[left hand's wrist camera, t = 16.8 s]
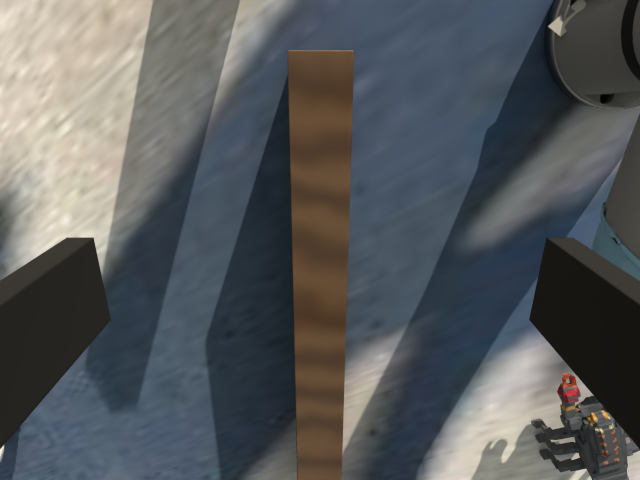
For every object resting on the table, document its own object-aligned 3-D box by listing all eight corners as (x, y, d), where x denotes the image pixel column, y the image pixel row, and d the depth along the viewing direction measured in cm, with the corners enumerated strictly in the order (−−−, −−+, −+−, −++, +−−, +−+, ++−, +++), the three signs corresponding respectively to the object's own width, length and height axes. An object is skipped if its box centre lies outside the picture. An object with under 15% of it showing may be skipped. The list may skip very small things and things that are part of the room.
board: (293, 54, 42) (287, 50, 34) (347, 54, 42) (354, 50, 34) (301, 474, 63) (298, 531, 56) (337, 474, 63) (339, 531, 56)
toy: (552, 495, 65) (635, 646, 48) (514, 362, 56) (600, 490, 39) (642, 472, 63) (762, 619, 46) (618, 330, 54) (755, 449, 37)
